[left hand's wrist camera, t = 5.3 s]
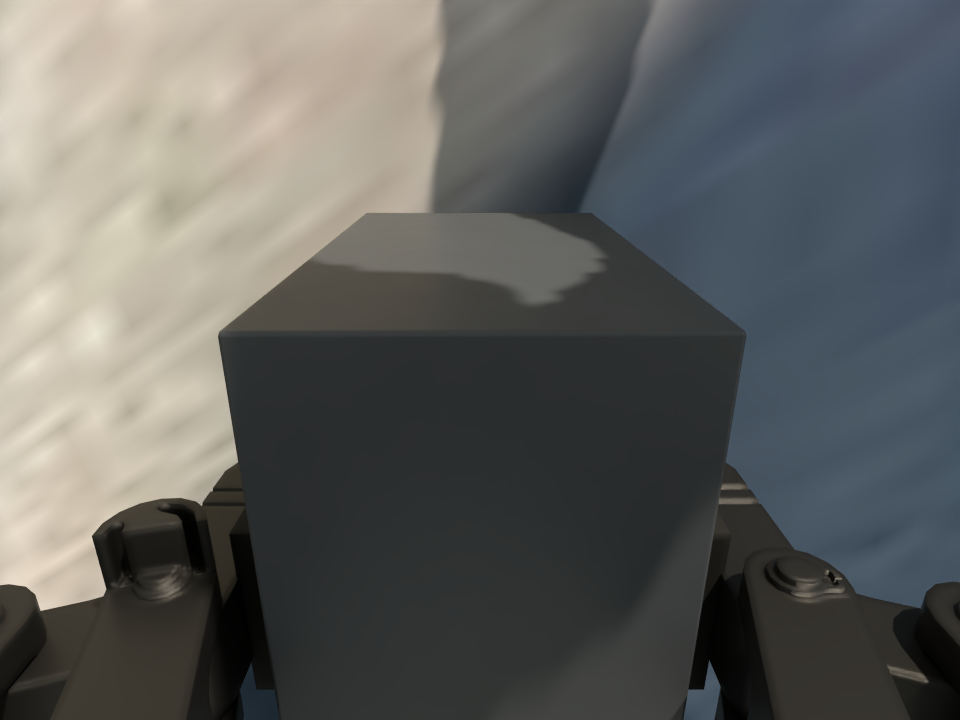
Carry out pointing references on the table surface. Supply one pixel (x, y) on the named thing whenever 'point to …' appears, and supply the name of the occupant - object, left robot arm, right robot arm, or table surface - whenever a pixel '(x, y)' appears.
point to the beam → (481, 470)
